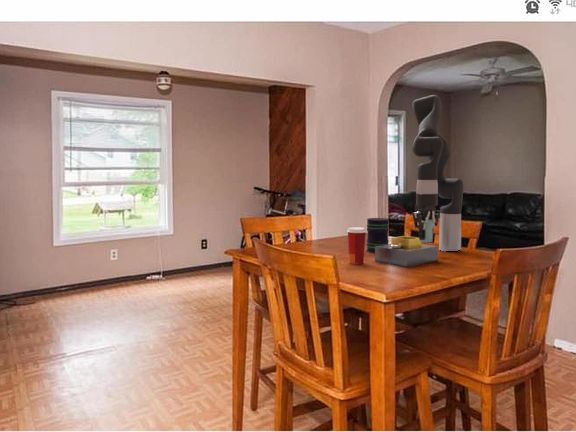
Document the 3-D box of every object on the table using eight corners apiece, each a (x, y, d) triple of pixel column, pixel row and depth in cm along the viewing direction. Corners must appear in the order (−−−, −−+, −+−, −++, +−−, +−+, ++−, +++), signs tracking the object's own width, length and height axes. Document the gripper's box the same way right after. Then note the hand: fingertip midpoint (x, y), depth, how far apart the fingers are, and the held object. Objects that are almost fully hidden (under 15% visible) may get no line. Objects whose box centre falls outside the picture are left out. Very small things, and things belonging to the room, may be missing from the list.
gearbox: (405, 255, 204) (405, 233, 203) (437, 260, 191) (438, 237, 190) (374, 260, 191) (375, 238, 190) (406, 267, 179) (407, 242, 178)
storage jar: (392, 251, 213) (393, 219, 212) (377, 253, 208) (378, 220, 206) (377, 248, 222) (377, 217, 220) (362, 250, 216) (362, 218, 215)
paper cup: (367, 261, 190) (367, 227, 188) (364, 265, 182) (364, 229, 181) (348, 260, 192) (348, 226, 191) (344, 264, 185) (344, 229, 184)
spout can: (424, 240, 175) (425, 214, 174) (434, 241, 171) (435, 215, 170) (417, 241, 172) (417, 215, 171) (427, 242, 169) (428, 216, 168)
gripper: (429, 191, 177) (428, 235, 179) (406, 192, 168) (405, 239, 170) (447, 191, 171) (446, 238, 173) (423, 193, 162) (423, 242, 164)
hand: (426, 238), depth 171 cm, fingers closed on spout can, 4 cm apart
